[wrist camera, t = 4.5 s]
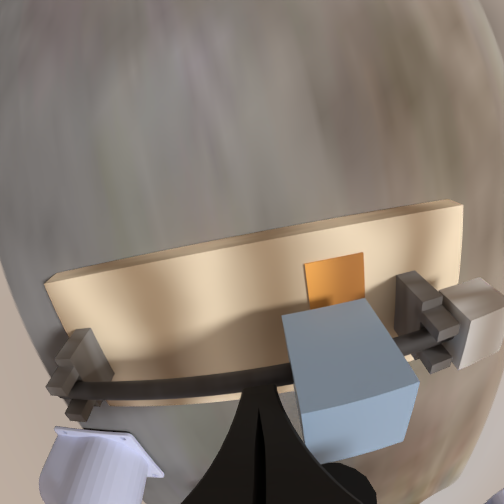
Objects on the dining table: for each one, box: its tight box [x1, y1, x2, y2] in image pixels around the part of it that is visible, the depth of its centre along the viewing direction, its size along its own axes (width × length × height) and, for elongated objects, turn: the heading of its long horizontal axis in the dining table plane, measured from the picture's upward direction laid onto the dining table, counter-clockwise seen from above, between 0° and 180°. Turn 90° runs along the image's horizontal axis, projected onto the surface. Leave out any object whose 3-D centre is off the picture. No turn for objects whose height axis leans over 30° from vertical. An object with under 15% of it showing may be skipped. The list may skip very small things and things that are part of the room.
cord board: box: [44, 199, 504, 422], centre depth 14 cm, size 24×10×6 cm, turn 101°
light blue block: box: [281, 298, 420, 464], centre depth 12 cm, size 4×4×6 cm
